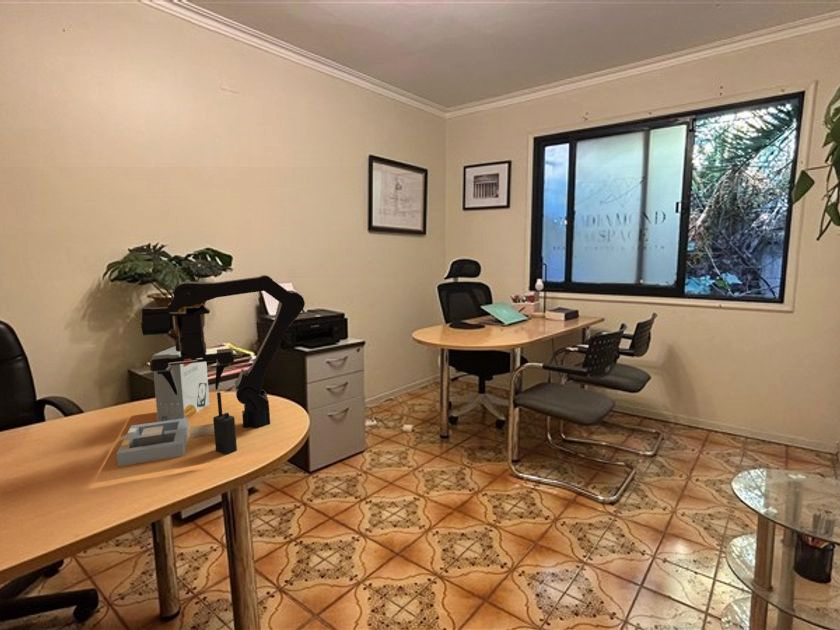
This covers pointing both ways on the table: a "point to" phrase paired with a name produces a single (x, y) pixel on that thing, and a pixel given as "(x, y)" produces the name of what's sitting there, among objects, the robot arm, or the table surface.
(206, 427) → the brown flat square plate
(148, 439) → the plug
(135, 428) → the dock
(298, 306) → the robot arm
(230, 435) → the walkie-talkie
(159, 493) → the table surface
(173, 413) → the hard drive box
